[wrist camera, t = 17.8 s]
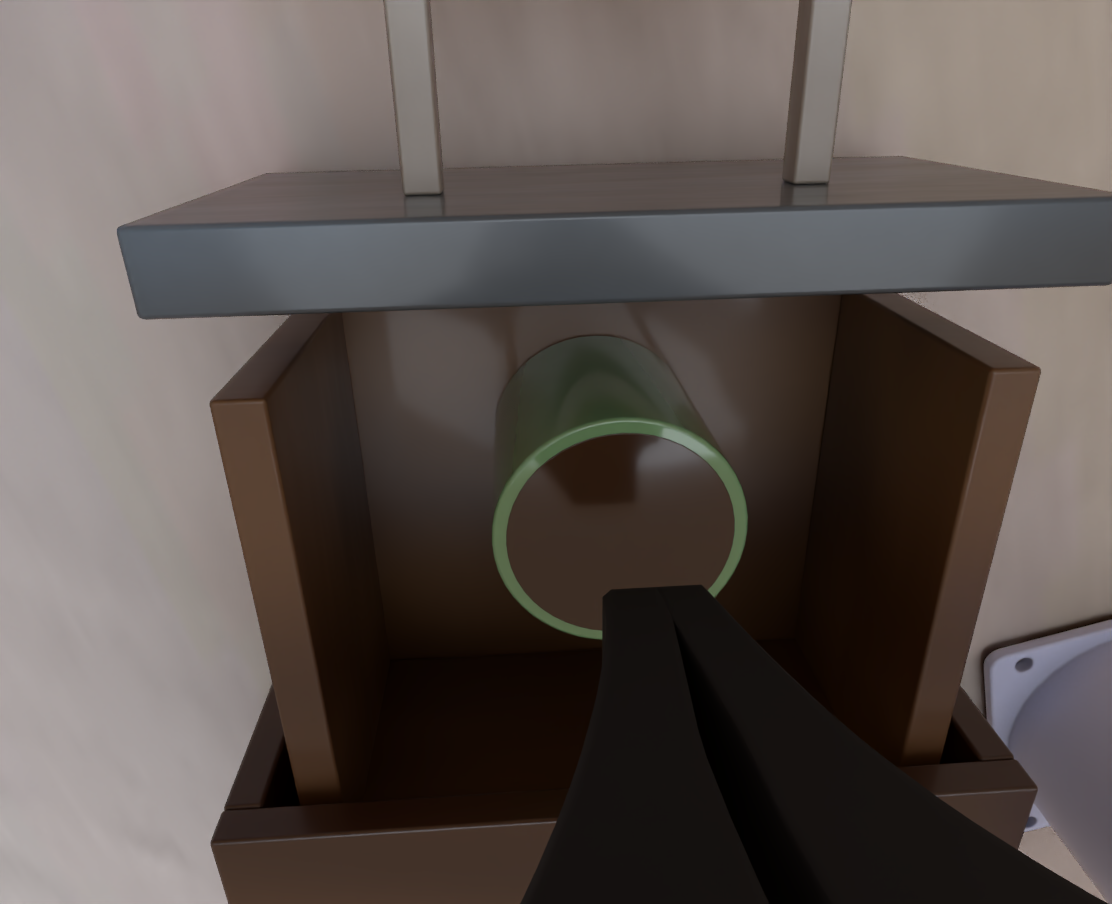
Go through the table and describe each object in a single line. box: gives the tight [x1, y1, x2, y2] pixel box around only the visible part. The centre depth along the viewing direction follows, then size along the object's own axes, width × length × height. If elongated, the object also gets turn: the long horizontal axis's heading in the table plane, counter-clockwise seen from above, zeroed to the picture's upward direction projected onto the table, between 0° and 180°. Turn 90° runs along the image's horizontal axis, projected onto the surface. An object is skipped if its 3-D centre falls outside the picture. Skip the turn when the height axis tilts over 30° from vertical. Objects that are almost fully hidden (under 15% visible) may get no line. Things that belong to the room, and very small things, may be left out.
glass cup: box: [491, 336, 748, 640], centre depth 15 cm, size 4×4×5 cm
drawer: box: [117, 0, 1112, 806], centre depth 15 cm, size 17×13×7 cm
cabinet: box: [211, 683, 1038, 904], centre depth 20 cm, size 13×14×8 cm
